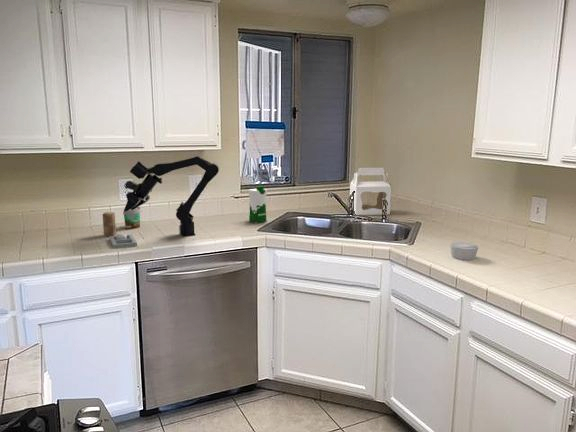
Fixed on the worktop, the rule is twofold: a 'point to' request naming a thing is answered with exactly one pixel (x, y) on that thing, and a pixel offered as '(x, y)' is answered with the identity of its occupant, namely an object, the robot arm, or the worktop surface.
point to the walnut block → (109, 224)
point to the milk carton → (257, 204)
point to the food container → (132, 218)
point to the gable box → (371, 186)
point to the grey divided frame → (123, 241)
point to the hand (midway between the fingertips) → (128, 210)
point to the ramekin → (463, 250)
